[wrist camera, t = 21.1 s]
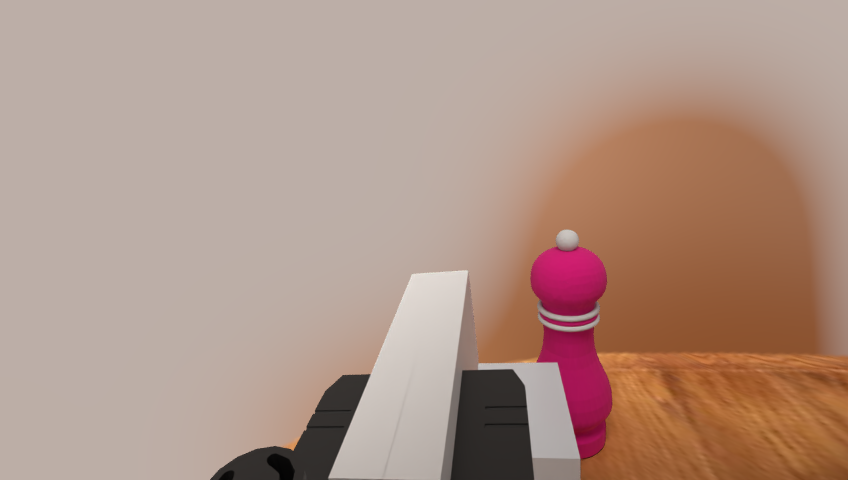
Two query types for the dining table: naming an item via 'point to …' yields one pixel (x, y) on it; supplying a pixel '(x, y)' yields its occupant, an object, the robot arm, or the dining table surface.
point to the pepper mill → (574, 334)
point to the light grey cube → (547, 420)
